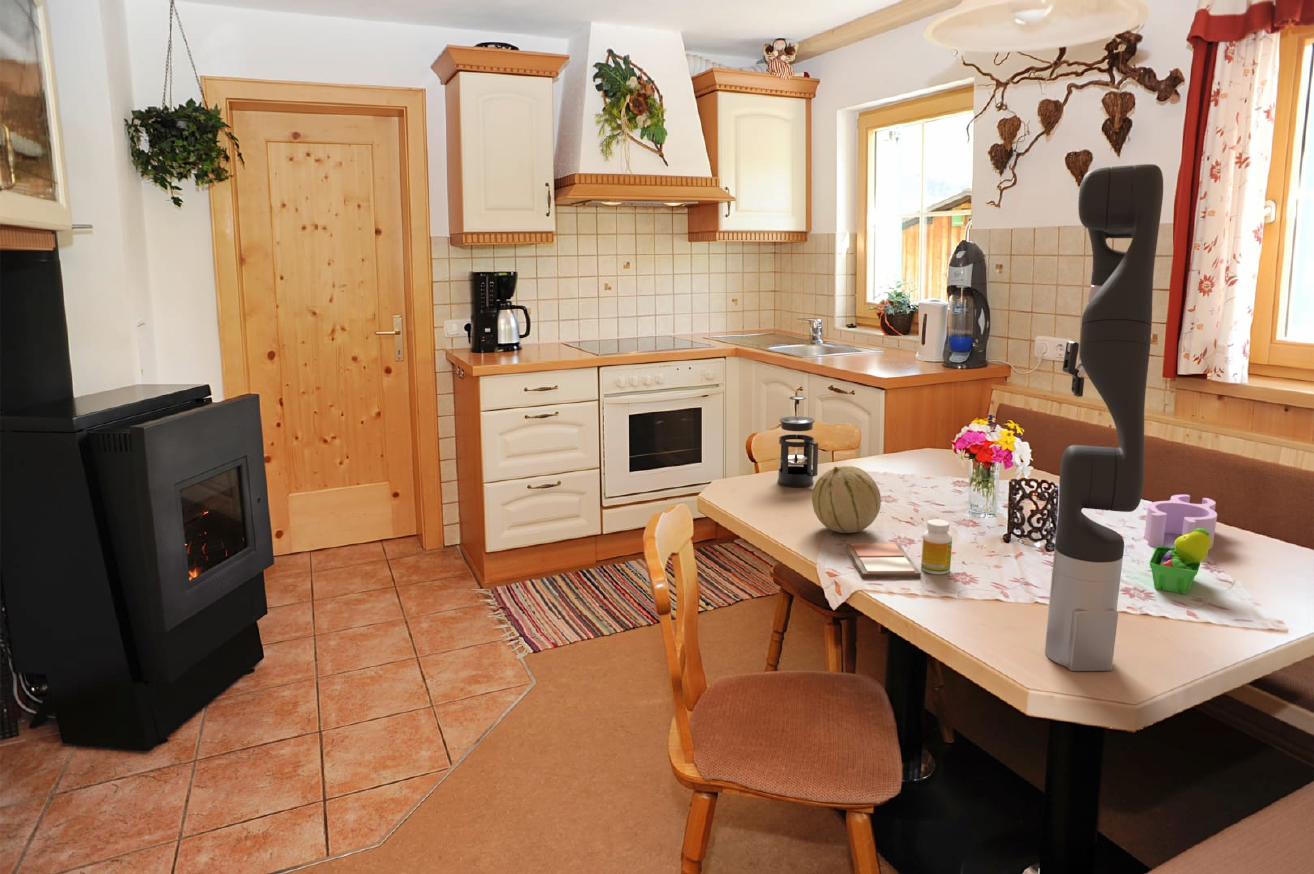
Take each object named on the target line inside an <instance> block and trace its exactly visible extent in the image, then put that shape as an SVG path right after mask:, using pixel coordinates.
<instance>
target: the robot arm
mask: <svg viewBox="0 0 1314 874" xmlns="http://www.w3.org/2000/svg"><path fill="white" fill-rule="evenodd" d="M1078 192H1079V193H1078V217H1079V221H1080V223H1081V224H1082V226H1084V228H1086V229H1087V231H1088V235H1089V240H1090V244H1091V251H1092V270H1091V281H1090V289H1089V293H1088V299H1087V304H1086V307H1085V309H1084V312H1083V313H1082V316H1081V326H1080V340H1079V342H1078V341H1077V342H1076V341H1073V340H1067V342H1066V345H1065V352H1064V358H1063V365H1062V372H1064V373H1066V374H1069V375H1071V376H1072V377H1071V378H1072V379H1071V380H1072V381H1071V393H1072V394H1073V395H1074V397H1076V398H1077V397H1078V398H1081V397H1083V396H1084V387H1085V385H1084V384H1085V377H1084V376H1085V375H1087V378H1089V380H1090V381H1091V384H1092V385H1093V386H1094V388H1095V389H1096V390H1097V392H1098V394H1099V395H1100V397H1101V399H1102V400H1103V401H1104V404H1105V406H1106V407H1107V410H1108V411H1109V413H1110V415H1111V417H1112V421H1113V423H1114V426H1115V429H1116V434H1117V437H1118V447H1112V446H1095V445H1084V444H1083V445H1082V444H1072V445H1070V446H1067V447H1066V448H1065V450H1064V451H1063V453H1062V457H1061V461H1060V466H1059V467H1060V468H1059V483H1058V484H1059V485H1058V487H1059V489H1058V491H1059V492H1058V515H1057V523H1056V524H1057V525H1056V532H1055V533H1056V534H1055V541H1054V550H1053V551H1054V553H1053V559H1052V560H1053V561H1052V568H1051V569H1052V571H1051V579H1050V580H1051V581H1050V591H1049V601H1048V612H1047V624H1046V636H1045V644H1044V645H1045V646H1044V653H1045V655H1046V657H1047V658H1048V659H1050V660H1051V661H1053V662H1054V663H1056V664H1058V665H1060V666H1064V667H1066V668H1067V669H1068V670H1069V671H1071V672H1077V671H1078V672H1080V671H1081V672H1082V671H1083V672H1085V671H1086V672H1091V671H1094V672H1096V671H1097V672H1098V671H1100V672H1101V671H1102V672H1103V671H1105V672H1106V671H1113V662H1114V661H1113V660H1114V652H1115V645H1116V636H1117V627H1118V619H1119V612H1118V611H1117V610H1118V601H1119V593H1120V584H1121V576H1122V567H1123V559H1124V551H1125V540H1124V538H1123V536H1122V535H1121V534H1120V533H1119V532H1117V531H1115V530H1114V529H1112V528H1109V527H1107V526H1105V525H1102V524H1100V523H1099V522H1096V521H1094V520H1092V519H1090V518H1089V517H1088V516H1087V515H1086V514H1084V513H1083V511H1082V510H1083V509H1086V510H1087V509H1089V510H1098V511H1100V510H1101V511H1108V512H1109V511H1110V512H1120V513H1121V512H1122V513H1128V512H1129V513H1133V512H1134V511H1135V510H1137V509H1138V508H1139V505H1140V503H1141V500H1142V497H1143V493H1144V481H1145V480H1144V479H1145V404H1146V403H1145V402H1146V393H1147V392H1146V389H1147V380H1148V372H1149V362H1150V361H1149V360H1150V351H1151V341H1152V326H1153V325H1152V324H1153V322H1152V321H1153V295H1154V293H1153V292H1154V291H1153V289H1154V273H1155V262H1156V253H1157V246H1158V239H1159V230H1160V223H1161V216H1162V207H1163V199H1164V176H1163V171H1162V169H1161V168H1160V167H1159V166H1158V165H1157V164H1152V163H1151V164H1148V163H1143V164H1134V165H1133V164H1132V165H1120V166H1117V165H1116V166H1104V167H1098V168H1094V169H1092V170H1090V171H1088V172H1087V173H1086V174H1085V175H1084V177H1083V179H1082V180H1081V182H1080V187H1079V191H1078ZM1107 239H1132V240H1131V242H1130V244H1129V246H1128V248H1127V249H1126V251H1122V250H1121V251H1120V250H1116V249H1113V248H1111V247H1110V246H1109V244H1108V243H1107ZM1078 354H1079V360H1078V363H1077V359H1078Z"/></svg>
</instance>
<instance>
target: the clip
mask: <svg viewBox="0 0 1314 874" xmlns="http://www.w3.org/2000/svg"><path fill="white" fill-rule="evenodd" d="M1190 499H1191V495H1190V494H1174V495H1171V496H1170V499H1169V500H1160V501H1159V500H1158V501H1153V502H1149V503H1148V505H1147V508H1146V509H1147V511H1146V518H1145V519H1146V520H1145V526H1144V527H1145V528H1144V536H1143V537H1144V538H1145V540H1146V541H1147V546H1149V547H1158V546H1161V547H1163V546H1164V541H1165V535H1166V534H1177V535H1181V536H1183V535H1186V534H1190V533H1192V532H1193V530H1195V529H1197V528H1202V529H1205V530H1207V531H1208V532H1209V533H1210V534H1209V536H1210V538H1211V541H1212V542H1211V545H1210V547H1209V550H1211V549H1213V547H1214V541H1215V533H1216V529H1217V528H1216V526H1217V518H1218V513H1217V512H1216V511H1215V510H1216V504H1217V503H1216V501H1215V500H1213V499H1211V498H1208V497H1203V498H1202V502H1201V503H1190Z"/></svg>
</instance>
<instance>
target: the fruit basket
mask: <svg viewBox="0 0 1314 874" xmlns="http://www.w3.org/2000/svg"><path fill="white" fill-rule="evenodd" d="M1209 534H1210V533H1209V532H1208V531H1207V530H1205V529H1202V528H1197V529H1195V530H1193V532H1192V533H1190V534H1186V535H1183V536H1182V535H1180V536H1178V537H1177V538H1176V539H1175V540H1174V546H1173V547H1169V546H1155V550H1154V552H1153V553H1152V556H1151V558H1150V560H1149V563H1148V564H1149V566H1150V568H1151V573H1152V574H1151V575H1152V580H1153V585H1154V589H1156V590H1163V591H1165V592H1171V593H1172V592H1173V593H1177V594H1179V593H1180V594H1183V595H1188V593H1189V591H1190V588H1191V587H1192V584H1193V581H1194V579H1195V577H1196V576H1197V575H1198V572H1199V571H1200V570H1199V569H1200V565H1201V563H1202V562H1203V561H1204V560H1205V559H1206V558H1207V557H1208V554H1209V550H1210V549H1209V547H1210V545H1211V542H1212V541H1211V538H1210V536H1209Z"/></svg>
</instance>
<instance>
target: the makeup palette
mask: <svg viewBox="0 0 1314 874" xmlns="http://www.w3.org/2000/svg"><path fill="white" fill-rule="evenodd" d="M846 549H847V550H846ZM845 550H846V552H847V554H848V553H849V554H848V556H849V557H850V559H851V558H852V559H851V561H852V560H853V561H852V563H853V562H854V563H855V564H854V563H853V564H854V566H855V567H857V568H856V570H857V569H858V570H859V571H858V570H857V571H858V573H859V575H860V577H861V576H862V577H861V578H862V579H921V576H922V573H921V571H920V570H919V568H918V567H917V565H916V564H915V563H914V561H913V560H912V559H911V558H910V557H909V555H908V553H907V552H906V551H905V550H904V548H903V547H902V546H901V544H900V543H895V542H893V543H892V542H887V543H886V542H883V543H881V542H879V543H878V542H876V543H875V542H874V543H870V542H869V543H867V542H866V543H846V544H845Z"/></svg>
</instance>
